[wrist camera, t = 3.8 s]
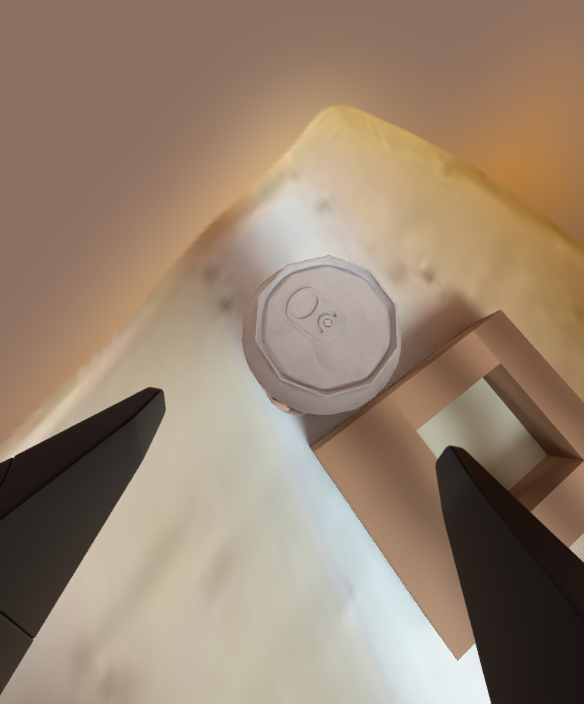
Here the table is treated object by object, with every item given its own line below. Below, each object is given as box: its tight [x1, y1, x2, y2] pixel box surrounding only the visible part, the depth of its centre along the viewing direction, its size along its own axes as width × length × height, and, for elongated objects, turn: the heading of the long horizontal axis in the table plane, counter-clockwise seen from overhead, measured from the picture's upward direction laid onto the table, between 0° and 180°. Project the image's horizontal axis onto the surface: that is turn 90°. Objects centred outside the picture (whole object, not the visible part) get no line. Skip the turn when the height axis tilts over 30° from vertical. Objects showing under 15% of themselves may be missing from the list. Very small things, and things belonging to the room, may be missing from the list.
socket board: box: [310, 310, 584, 661], centre depth 17 cm, size 15×12×2 cm
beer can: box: [242, 255, 401, 415], centre depth 13 cm, size 5×5×12 cm
